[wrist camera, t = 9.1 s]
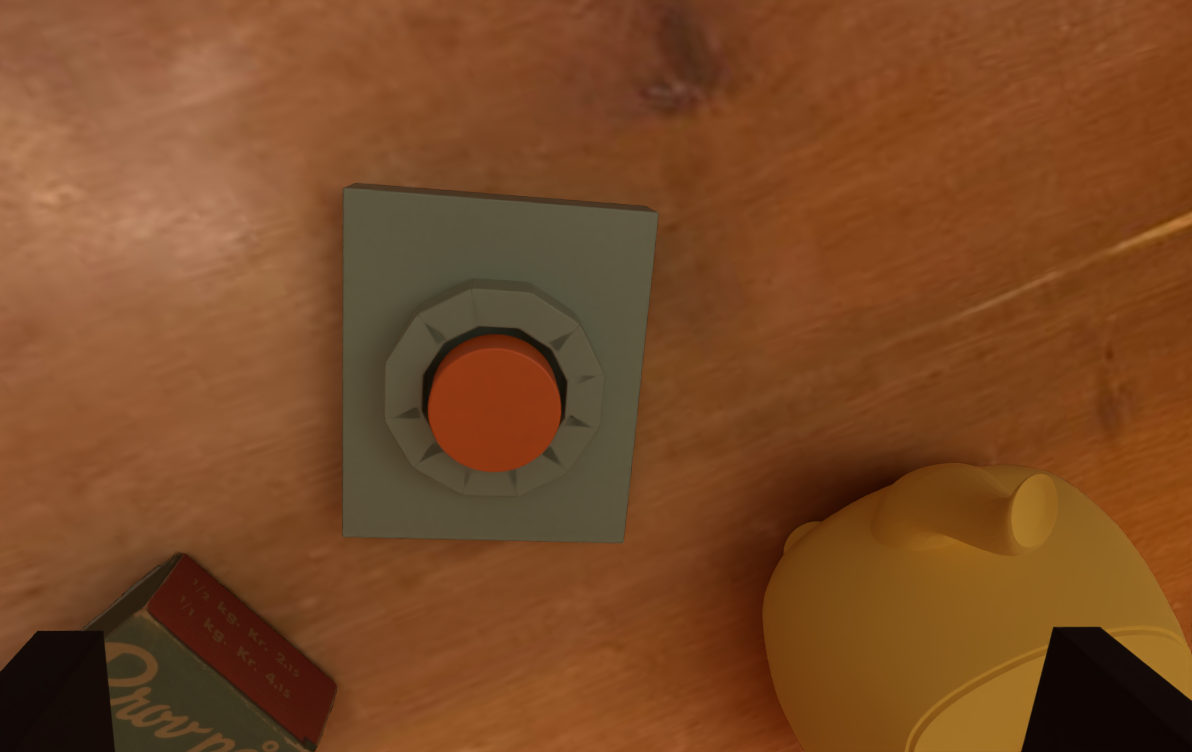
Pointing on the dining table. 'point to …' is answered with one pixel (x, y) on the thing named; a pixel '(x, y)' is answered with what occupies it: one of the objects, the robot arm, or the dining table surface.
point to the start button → (494, 403)
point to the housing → (480, 307)
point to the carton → (205, 671)
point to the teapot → (951, 609)
